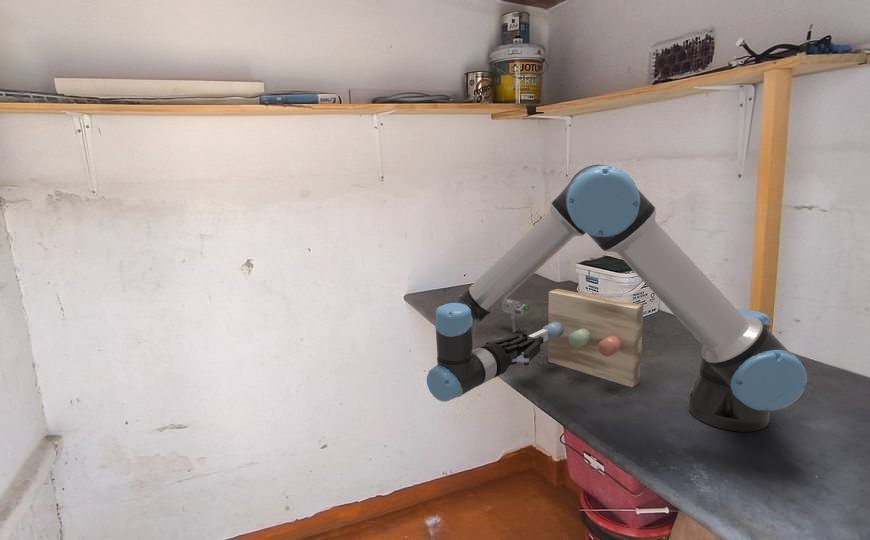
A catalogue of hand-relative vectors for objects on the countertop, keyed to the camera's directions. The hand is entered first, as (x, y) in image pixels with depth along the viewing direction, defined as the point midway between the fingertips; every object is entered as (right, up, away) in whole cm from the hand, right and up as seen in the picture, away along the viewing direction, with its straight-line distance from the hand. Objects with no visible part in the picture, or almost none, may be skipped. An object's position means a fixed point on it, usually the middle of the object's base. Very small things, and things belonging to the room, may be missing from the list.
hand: (545, 334), depth 129 cm
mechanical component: (-2, -4, +34) cm, 34 cm away
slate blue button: (+2, -1, +2) cm, 4 cm away
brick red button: (+13, -3, -9) cm, 16 cm away
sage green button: (+8, -2, -3) cm, 9 cm away
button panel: (+13, -10, +3) cm, 16 cm away
